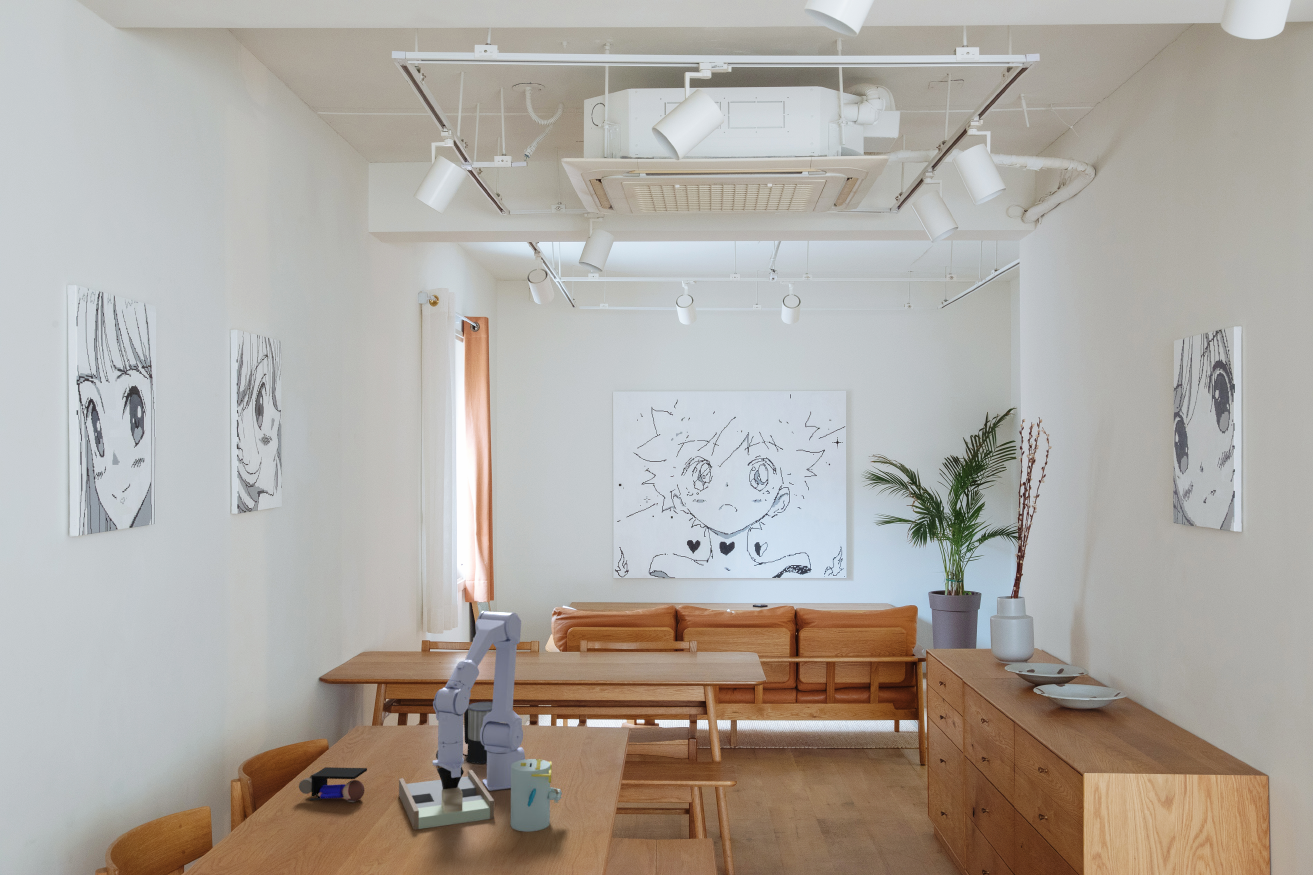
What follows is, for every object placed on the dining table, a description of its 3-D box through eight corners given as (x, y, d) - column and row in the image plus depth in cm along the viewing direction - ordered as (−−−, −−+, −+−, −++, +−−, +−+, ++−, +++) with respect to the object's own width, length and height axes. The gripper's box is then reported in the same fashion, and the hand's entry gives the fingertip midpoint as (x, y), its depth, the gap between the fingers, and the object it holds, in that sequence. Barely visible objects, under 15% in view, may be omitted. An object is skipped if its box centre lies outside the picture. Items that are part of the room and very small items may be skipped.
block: (459, 804, 213) (459, 787, 214) (462, 810, 210) (462, 792, 210) (441, 806, 212) (441, 789, 212) (444, 812, 208) (444, 794, 208)
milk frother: (507, 758, 257) (507, 704, 258) (467, 773, 244) (467, 716, 245) (469, 749, 265) (470, 697, 266) (428, 763, 252) (429, 708, 252)
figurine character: (298, 808, 222) (356, 805, 219) (295, 776, 222) (354, 772, 219) (313, 798, 228) (370, 795, 226) (311, 767, 229) (368, 764, 226)
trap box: (471, 785, 234) (472, 769, 234) (494, 817, 212) (494, 800, 212) (398, 794, 227) (399, 778, 227) (413, 829, 205) (414, 811, 205)
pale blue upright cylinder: (561, 840, 199) (562, 777, 200) (507, 841, 198) (508, 778, 199) (561, 807, 219) (562, 749, 220) (512, 808, 218) (513, 750, 219)
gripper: (427, 734, 220) (427, 791, 219) (438, 750, 206) (437, 812, 206) (457, 731, 222) (456, 788, 222) (470, 747, 209) (469, 808, 209)
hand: (449, 799), depth 214 cm, fingers closed
